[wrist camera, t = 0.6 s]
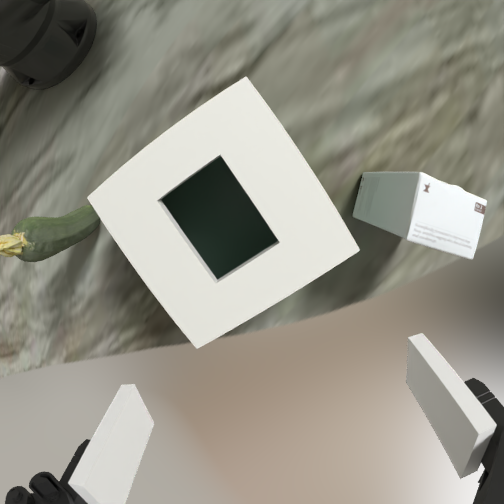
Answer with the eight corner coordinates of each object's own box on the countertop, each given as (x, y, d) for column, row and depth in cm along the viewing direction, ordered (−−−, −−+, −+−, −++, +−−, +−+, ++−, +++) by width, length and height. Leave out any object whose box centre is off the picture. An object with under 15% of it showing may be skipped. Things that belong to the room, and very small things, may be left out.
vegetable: (114, 228, 39) (13, 275, 20) (89, 239, 40) (-13, 288, 20) (102, 196, 38) (-6, 221, 19) (78, 208, 39) (-31, 240, 19)
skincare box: (350, 216, 38) (399, 243, 24) (362, 168, 37) (417, 169, 22) (409, 233, 38) (473, 265, 24) (420, 188, 37) (491, 200, 22)
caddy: (143, 187, 38) (87, 197, 24) (251, 110, 35) (246, 76, 22) (217, 292, 41) (196, 349, 27) (326, 222, 38) (360, 250, 25)
